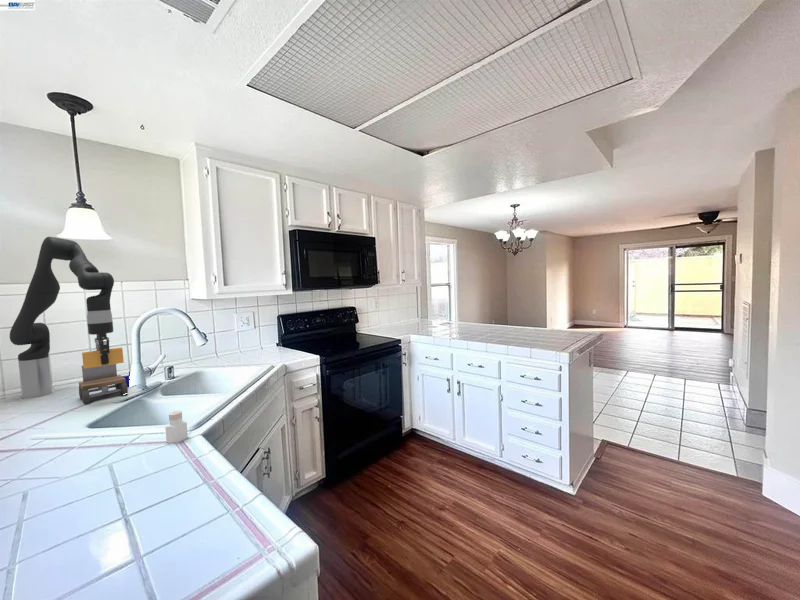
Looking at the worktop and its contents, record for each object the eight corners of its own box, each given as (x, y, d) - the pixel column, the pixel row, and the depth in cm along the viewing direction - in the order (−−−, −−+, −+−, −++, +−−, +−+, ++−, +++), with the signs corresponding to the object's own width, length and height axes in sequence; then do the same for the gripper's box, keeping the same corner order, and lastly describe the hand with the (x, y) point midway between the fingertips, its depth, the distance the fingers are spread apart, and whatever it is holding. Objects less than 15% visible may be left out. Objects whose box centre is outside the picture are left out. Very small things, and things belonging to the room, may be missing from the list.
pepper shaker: (177, 448, 93) (175, 415, 93) (165, 447, 94) (163, 415, 94) (189, 441, 97) (186, 410, 97) (177, 440, 98) (175, 409, 98)
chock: (83, 367, 130) (82, 352, 130) (123, 361, 138) (121, 347, 138) (83, 368, 127) (82, 353, 127) (123, 362, 136) (122, 348, 135)
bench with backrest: (79, 398, 141) (76, 365, 141) (120, 390, 152) (117, 359, 151) (85, 406, 131) (81, 370, 131) (128, 396, 142) (125, 363, 141)
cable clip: (132, 388, 155) (131, 375, 154) (120, 389, 153) (119, 377, 153) (142, 381, 166) (141, 369, 165) (131, 382, 164) (130, 370, 164)
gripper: (116, 321, 130) (119, 363, 131) (109, 320, 139) (112, 359, 140) (90, 323, 125) (94, 367, 125) (84, 322, 134) (88, 363, 135)
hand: (104, 363), depth 133 cm, fingers closed on chock, 4 cm apart
